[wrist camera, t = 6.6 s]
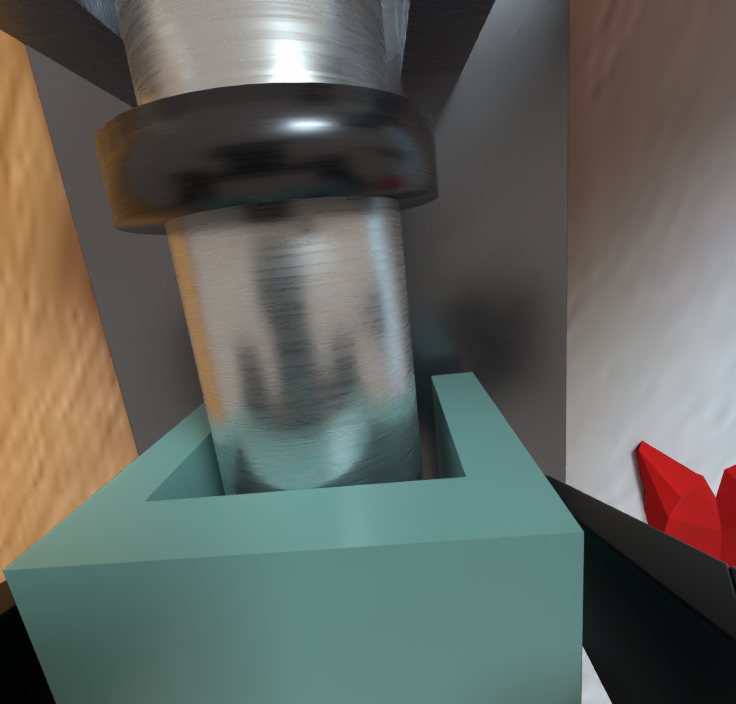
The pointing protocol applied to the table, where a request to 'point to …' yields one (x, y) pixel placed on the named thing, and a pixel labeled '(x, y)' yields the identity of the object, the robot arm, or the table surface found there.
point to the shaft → (280, 226)
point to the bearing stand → (419, 224)
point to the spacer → (315, 580)
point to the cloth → (689, 504)
